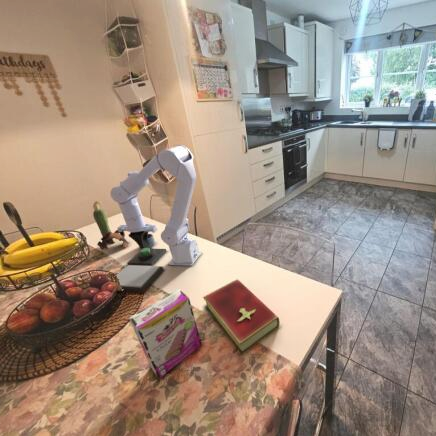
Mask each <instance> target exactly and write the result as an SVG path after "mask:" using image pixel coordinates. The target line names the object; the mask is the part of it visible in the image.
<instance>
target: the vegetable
mask: <svg viewBox="0 0 436 436" xmlns="http://www.w3.org/2000/svg"><path fill="white" fill-rule="evenodd" d="M99 205H100V203H99V201H98V200H95V201H94V202H93V205H92V208H93V210H94V211H92V212H93V213H92V216H93V219H94V221H95V223H96V225H97V227H98V229H99V231H100V234H101V236H102V237H103V236H104V235H105V234H107V233H108V232H112V230H111V229H110V226H109V220H108V216H107V213H106V211H105V210H104V209H102V208H100V206H99Z"/></svg>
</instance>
